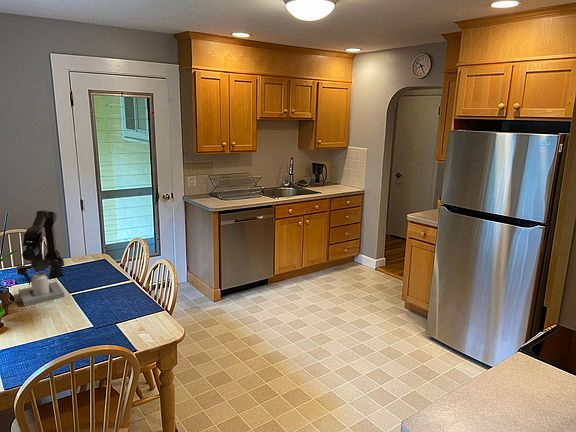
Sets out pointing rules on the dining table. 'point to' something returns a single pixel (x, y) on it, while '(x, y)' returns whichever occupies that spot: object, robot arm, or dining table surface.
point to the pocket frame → (53, 294)
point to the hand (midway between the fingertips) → (39, 281)
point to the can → (40, 283)
